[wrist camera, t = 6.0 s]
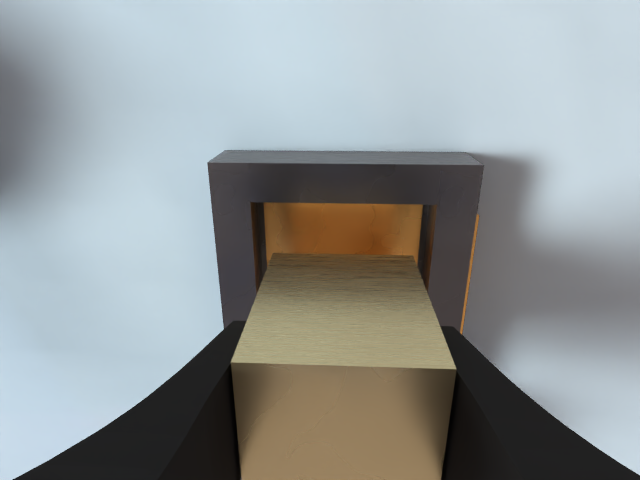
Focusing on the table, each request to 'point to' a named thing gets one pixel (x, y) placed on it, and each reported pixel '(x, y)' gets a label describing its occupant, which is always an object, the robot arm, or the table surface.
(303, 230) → the rail
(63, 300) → the table surface
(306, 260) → the light wood cube
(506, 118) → the table surface
